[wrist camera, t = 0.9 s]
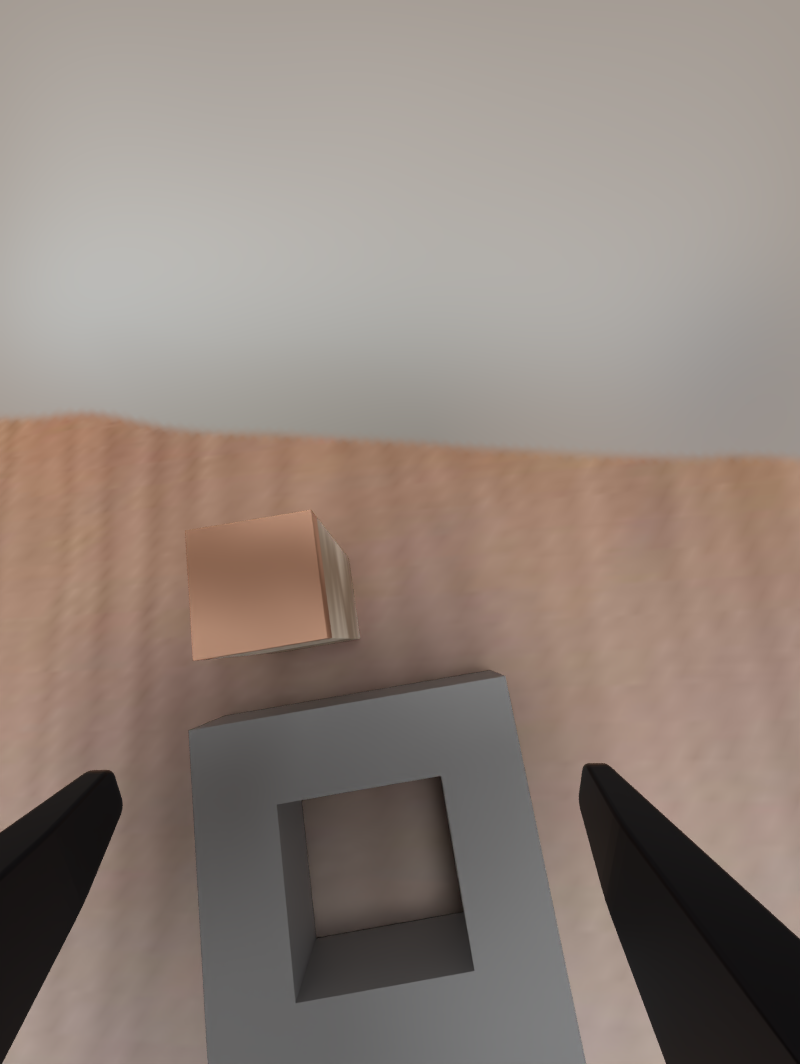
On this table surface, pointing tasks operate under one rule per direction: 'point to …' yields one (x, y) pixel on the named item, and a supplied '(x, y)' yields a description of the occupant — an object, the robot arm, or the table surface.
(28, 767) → the table surface
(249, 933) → the socket block
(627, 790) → the robot arm
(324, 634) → the peg
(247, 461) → the table surface
